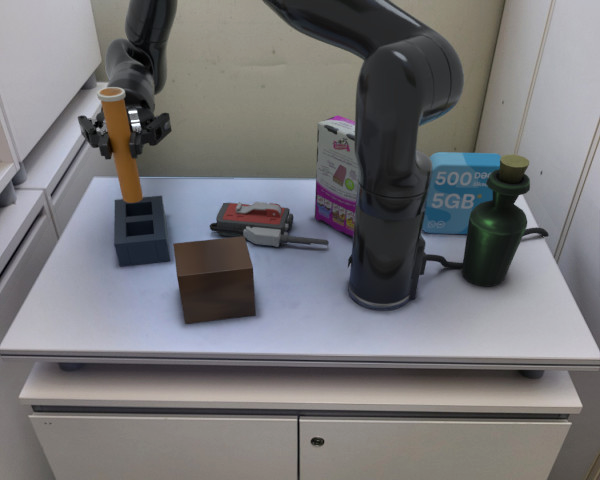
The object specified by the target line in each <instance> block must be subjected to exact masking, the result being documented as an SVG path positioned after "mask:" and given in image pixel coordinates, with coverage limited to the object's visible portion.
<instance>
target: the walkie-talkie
mask: <svg viewBox="0 0 600 480" xmlns="http://www.w3.org/2000/svg"><path fill="white" fill-rule="evenodd" d="M290 211H291V210H290V208H289V207H282V206H281V205H280V204H278V203H273V202H272V203H271V202H269V203H268V202H264V201H263V202H261V201H256V202H253V203H251V204H250V203H249V204H248V203H242V202H240V201H238V203H236V202H223V203H222V205H221V207H220V208H219V211H218V213H217V215H216V218H215V220H216V222H211V223H210V224H209V230H210V231H212V232H217V234H219V235H220V236H225V237H226V236H227V237H241V236H244V237H245V240H247V241H249V242H251V243H253V244H254V245H262V246H271V247H272V246H273V247H277V248H279V247H280V244H297V245H308V246H310V245H311V244H314V245H325V246H328V245H329V240H328V239H324V238H314V237H313V238H312V237H305V236H304V237H301V236H291V235H289V232H287V231H288V230H289V228H291V227H293V226H294V214H293V213H290Z"/></svg>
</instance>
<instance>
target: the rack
mask: <svg viewBox="0 0 600 480" xmlns="http://www.w3.org/2000/svg"><path fill="white" fill-rule="evenodd" d="M166 216H167V215H166V211H165V206H164V200H163V195H153V196H143V199H142V200H141V201H139V202H135V203H128V202H125V201H124V200H123V198H120V199H114V218H113V219H114V223H113V224H114V225H113V226H114V228H113V230H114V231H113V237H114V238H113V245H114V249H115V253H116V258H117V262H118V265H119V267H126V266H135V265H136V266H137V265H145V264H156V263H163V262H164V263H165V262H170V261H171V255H170V246H169V237H168V226H167V218H166Z"/></svg>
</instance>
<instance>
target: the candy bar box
mask: <svg viewBox="0 0 600 480" xmlns="http://www.w3.org/2000/svg"><path fill="white" fill-rule="evenodd" d="M316 135H317V136H316V137H317V139H316V162H315V163H316V166H315V167H316V169H315V196H314V197H315V198H314V199H315V200H314V219H315V220H316V221H318V222H320V223H322V224H324V225H325V226H328V227H330V229H333V230H335V231H337V232H339V233H341V234H343V235H345V236H347V237H349V238H350V239H353V233H354V222H355V210H356V198H357V186H358V175H359V168H358V164H357V161H356V156H355V147H354V141H355V120H352V119H350V118H347V117H344V116H341V115H334V116H332V117H329V118H327V119H324V120H321V121H319V122H317V133H316Z"/></svg>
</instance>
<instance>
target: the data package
mask: <svg viewBox="0 0 600 480" xmlns="http://www.w3.org/2000/svg"><path fill="white" fill-rule="evenodd" d="M501 157H502V156H501V155H500V154H499V153H493V152H491V153H490V152H489V153H488V152H455V151H454V152H452V151H451V152H449V151H438V152H435V153H433V154H431V155H430V157H429V158H430V160H431V161H432V165H433V172H432V178H431V184H430V188H429V194H428V200H427V205H426V211H425V217H424V222H423V228H422V231H424V232H425V233H427V234H446V235H467V231H468V224H469V217H470V213H471V211H472V210H473V209H474V208H475V207H476V206H477V205H479V204H480V203H483V202H486V201H491V200H493V190H491V189H490V188H488V186H487V184H486V182H487V179H488V177H489V176H490V174H491V173H492V172H493V171H495V170H499V169H500V158H501Z"/></svg>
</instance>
